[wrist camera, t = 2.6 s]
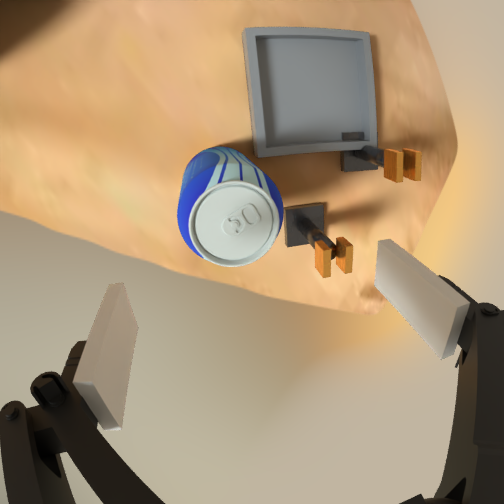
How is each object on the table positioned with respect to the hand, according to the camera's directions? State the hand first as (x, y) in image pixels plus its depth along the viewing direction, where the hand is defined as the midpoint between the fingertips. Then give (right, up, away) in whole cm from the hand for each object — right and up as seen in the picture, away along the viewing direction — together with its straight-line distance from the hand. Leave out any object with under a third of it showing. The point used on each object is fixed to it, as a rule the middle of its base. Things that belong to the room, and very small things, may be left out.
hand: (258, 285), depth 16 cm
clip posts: (+10, +10, +24) cm, 28 cm away
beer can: (-4, +10, +22) cm, 24 cm away
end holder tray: (+7, +21, +19) cm, 29 cm away
